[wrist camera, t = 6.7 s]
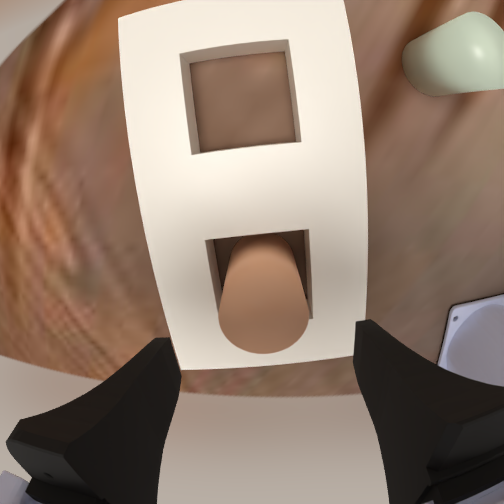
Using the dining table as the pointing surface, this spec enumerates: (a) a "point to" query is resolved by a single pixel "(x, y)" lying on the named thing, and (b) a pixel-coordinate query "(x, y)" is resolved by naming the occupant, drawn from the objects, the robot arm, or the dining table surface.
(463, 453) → the robot arm
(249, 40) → the white flat block
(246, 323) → the peg terracotta
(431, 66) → the peg sage
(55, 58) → the dining table surface
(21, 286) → the dining table surface
